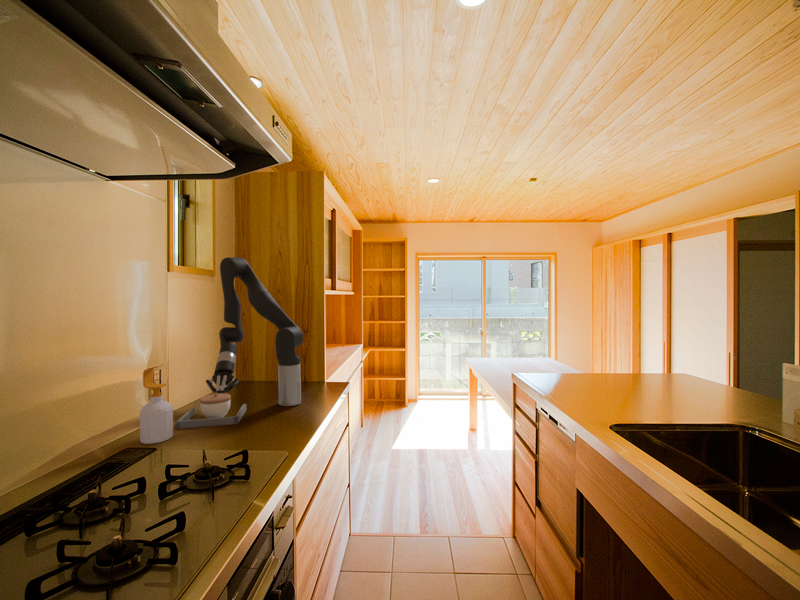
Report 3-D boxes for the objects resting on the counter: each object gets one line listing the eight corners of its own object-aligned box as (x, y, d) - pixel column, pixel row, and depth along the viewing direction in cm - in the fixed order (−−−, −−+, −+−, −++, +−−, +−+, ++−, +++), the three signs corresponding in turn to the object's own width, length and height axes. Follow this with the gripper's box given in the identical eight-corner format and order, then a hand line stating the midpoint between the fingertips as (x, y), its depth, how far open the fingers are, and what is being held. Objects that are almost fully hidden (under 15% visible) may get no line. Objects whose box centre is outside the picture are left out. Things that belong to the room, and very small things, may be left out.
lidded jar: (217, 422, 134) (217, 397, 134) (193, 420, 137) (193, 396, 136) (237, 413, 145) (236, 390, 144) (214, 411, 147) (213, 388, 147)
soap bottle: (161, 444, 115) (160, 367, 115) (133, 444, 115) (131, 367, 115) (179, 433, 124) (178, 362, 124) (152, 433, 124) (151, 362, 124)
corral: (246, 409, 149) (246, 403, 149) (237, 423, 133) (237, 417, 133) (191, 413, 145) (191, 407, 144) (176, 428, 128) (176, 421, 128)
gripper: (207, 360, 153) (198, 397, 142) (240, 358, 156) (234, 395, 145) (211, 370, 159) (202, 406, 147) (243, 368, 162) (237, 404, 150)
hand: (218, 400), depth 146 cm, fingers closed
